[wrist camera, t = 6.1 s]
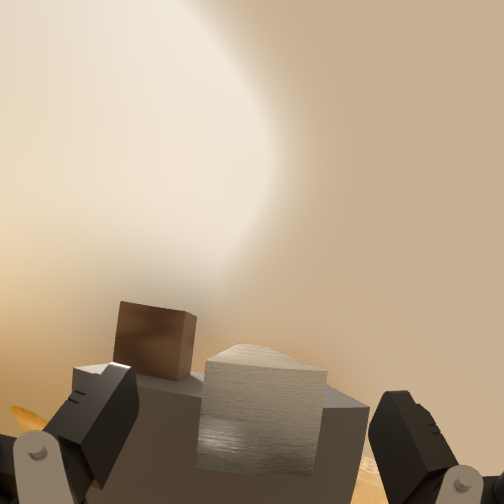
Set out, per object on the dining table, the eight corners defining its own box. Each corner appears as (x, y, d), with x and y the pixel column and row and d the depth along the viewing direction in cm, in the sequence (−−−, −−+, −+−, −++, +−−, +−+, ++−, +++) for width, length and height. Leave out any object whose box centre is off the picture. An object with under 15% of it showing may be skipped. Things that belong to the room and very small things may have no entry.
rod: (195, 467, 6) (205, 360, 7) (235, 369, 33) (238, 343, 34) (311, 476, 6) (327, 370, 7) (262, 371, 33) (264, 346, 34)
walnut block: (112, 367, 19) (120, 300, 21) (135, 363, 24) (142, 308, 26) (177, 381, 19) (185, 311, 21) (190, 374, 24) (197, 316, 25)
